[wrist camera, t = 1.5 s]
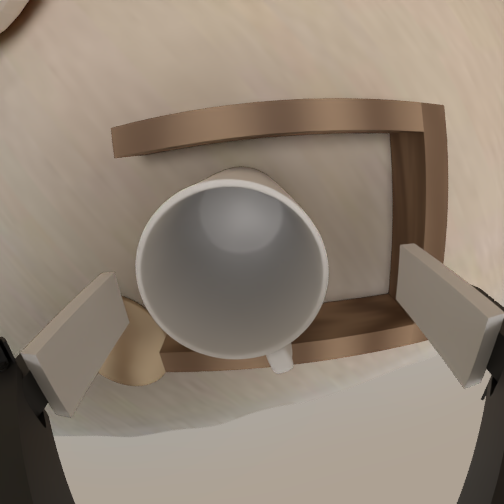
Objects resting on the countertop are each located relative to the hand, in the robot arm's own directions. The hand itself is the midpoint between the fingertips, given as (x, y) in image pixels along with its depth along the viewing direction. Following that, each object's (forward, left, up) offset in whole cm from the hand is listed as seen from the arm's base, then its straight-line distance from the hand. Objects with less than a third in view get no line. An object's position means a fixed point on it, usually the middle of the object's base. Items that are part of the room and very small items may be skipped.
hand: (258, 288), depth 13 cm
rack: (+2, 0, -9) cm, 10 cm away
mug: (0, 0, -10) cm, 10 cm away
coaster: (-13, -9, -9) cm, 19 cm away
